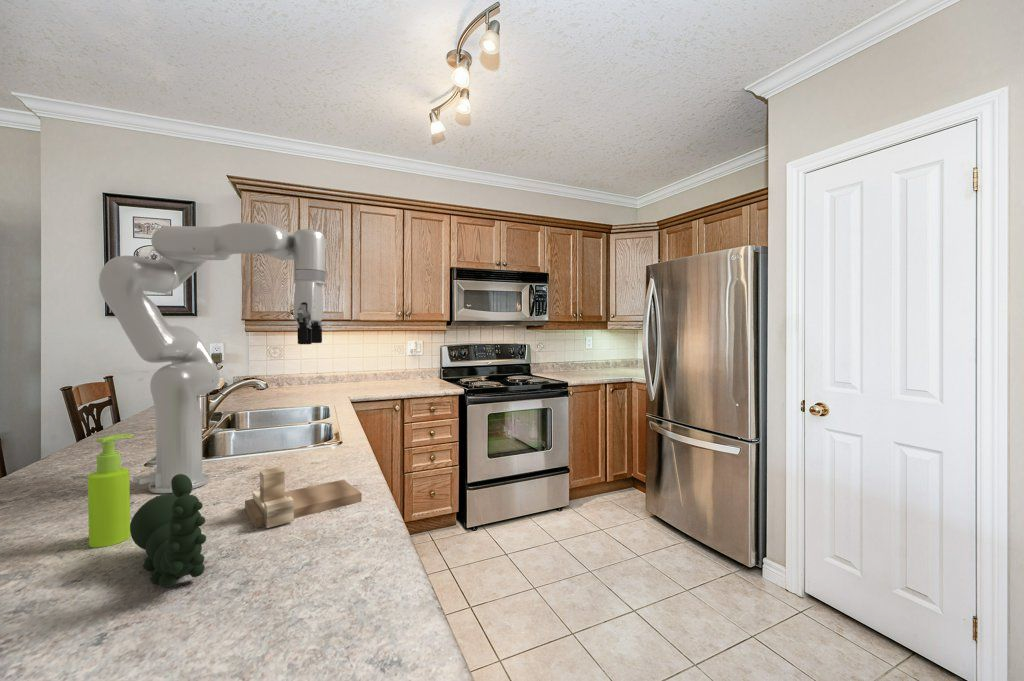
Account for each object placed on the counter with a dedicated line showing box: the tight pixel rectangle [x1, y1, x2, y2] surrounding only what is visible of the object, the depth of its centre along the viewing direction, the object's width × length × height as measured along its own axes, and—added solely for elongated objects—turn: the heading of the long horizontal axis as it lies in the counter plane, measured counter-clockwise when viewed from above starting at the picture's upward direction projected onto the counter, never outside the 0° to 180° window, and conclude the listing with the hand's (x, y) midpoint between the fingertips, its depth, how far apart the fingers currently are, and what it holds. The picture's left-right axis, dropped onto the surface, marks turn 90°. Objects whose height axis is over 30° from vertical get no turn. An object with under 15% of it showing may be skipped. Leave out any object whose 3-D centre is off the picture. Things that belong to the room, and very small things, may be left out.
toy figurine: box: [130, 474, 207, 588], centre depth 75 cm, size 9×19×25 cm
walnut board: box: [244, 479, 363, 529], centre depth 102 cm, size 22×12×2 cm, turn 130°
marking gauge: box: [252, 466, 295, 529], centre depth 96 cm, size 5×14×9 cm, turn 40°
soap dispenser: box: [87, 433, 136, 549], centre depth 85 cm, size 6×7×20 cm
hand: (310, 343), depth 116 cm, fingers open, 9 cm apart
